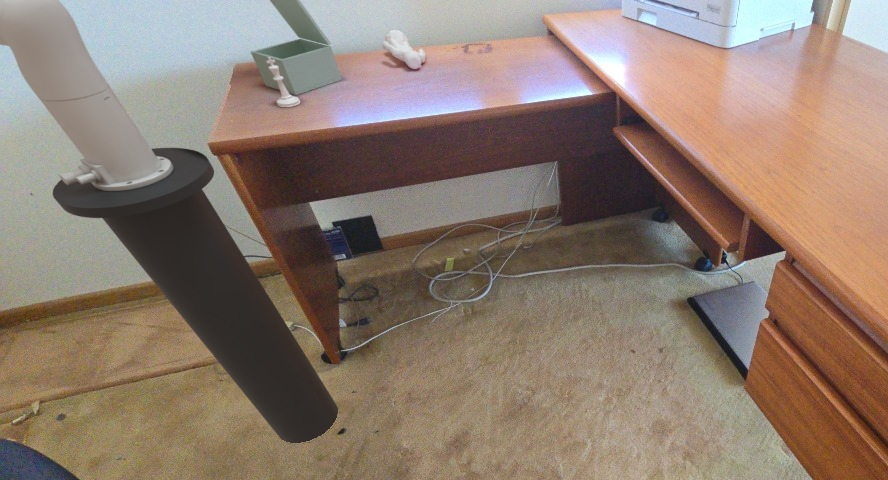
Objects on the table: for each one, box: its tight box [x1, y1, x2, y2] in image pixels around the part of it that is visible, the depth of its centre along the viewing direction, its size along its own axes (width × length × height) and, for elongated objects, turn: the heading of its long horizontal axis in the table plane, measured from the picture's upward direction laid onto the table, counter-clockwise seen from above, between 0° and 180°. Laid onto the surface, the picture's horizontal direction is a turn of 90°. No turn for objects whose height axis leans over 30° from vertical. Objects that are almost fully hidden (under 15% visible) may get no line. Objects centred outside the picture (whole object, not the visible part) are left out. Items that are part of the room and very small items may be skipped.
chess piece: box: [266, 57, 301, 108], centre depth 119 cm, size 5×5×10 cm
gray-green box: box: [250, 38, 343, 96], centre depth 130 cm, size 14×12×8 cm
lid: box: [269, 0, 332, 46], centre depth 125 cm, size 14×12×5 cm
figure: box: [381, 29, 426, 70], centre depth 145 cm, size 11×7×20 cm
